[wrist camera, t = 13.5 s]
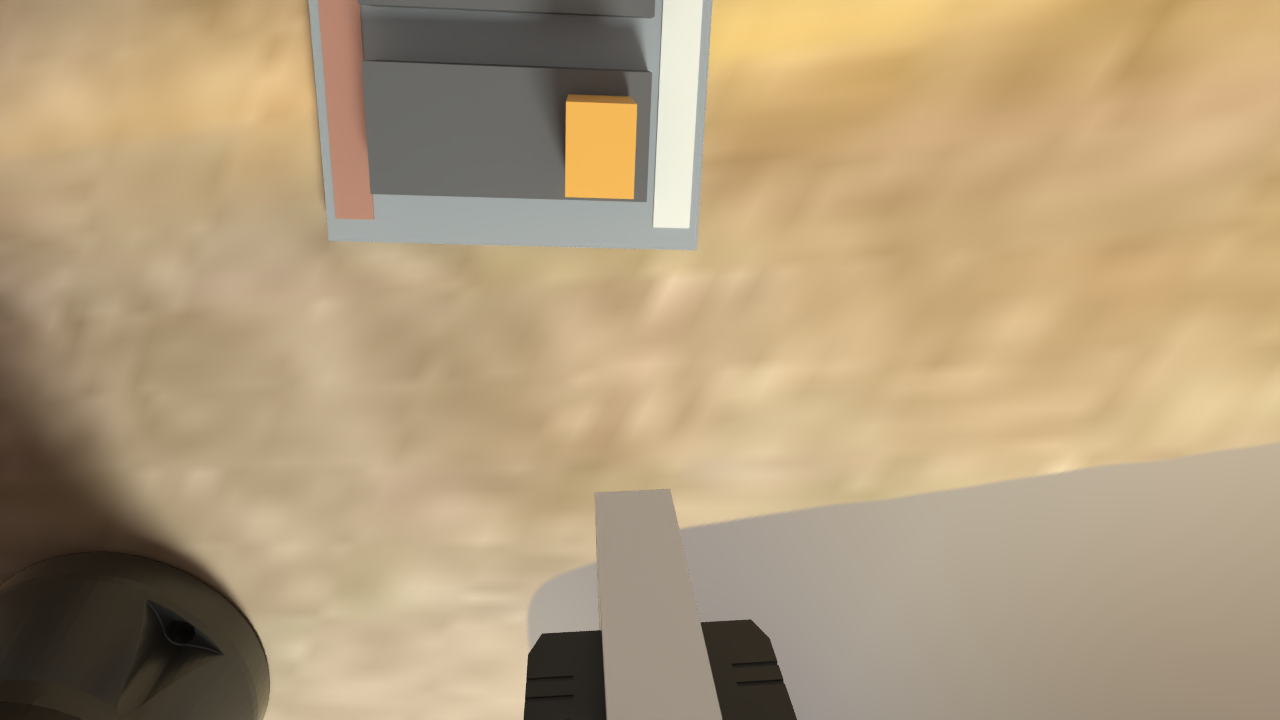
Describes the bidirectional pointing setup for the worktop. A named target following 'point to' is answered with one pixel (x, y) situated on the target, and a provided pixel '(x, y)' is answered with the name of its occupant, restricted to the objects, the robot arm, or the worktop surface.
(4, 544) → the worktop surface
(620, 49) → the panel
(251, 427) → the worktop surface
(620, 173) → the block
